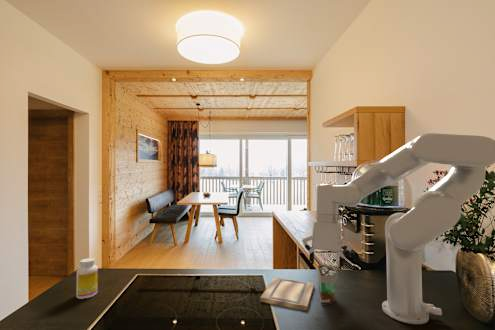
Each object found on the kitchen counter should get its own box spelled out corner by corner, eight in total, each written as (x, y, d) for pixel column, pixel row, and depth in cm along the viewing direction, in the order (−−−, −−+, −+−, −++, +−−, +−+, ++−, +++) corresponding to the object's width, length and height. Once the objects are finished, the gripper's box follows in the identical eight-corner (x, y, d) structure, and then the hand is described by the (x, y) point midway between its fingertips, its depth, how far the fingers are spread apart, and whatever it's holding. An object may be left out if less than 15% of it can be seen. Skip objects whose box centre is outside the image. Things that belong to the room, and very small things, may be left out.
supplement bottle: (100, 294, 93) (100, 259, 93) (79, 301, 88) (79, 264, 88) (94, 289, 97) (94, 255, 98) (74, 295, 92) (74, 260, 93)
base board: (314, 287, 98) (314, 282, 98) (307, 310, 81) (307, 305, 82) (274, 280, 104) (274, 276, 104) (260, 301, 87) (260, 296, 88)
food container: (340, 308, 83) (340, 277, 83) (321, 306, 84) (321, 276, 84) (335, 291, 95) (335, 264, 95) (318, 289, 96) (318, 263, 96)
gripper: (353, 218, 91) (352, 266, 90) (304, 214, 97) (303, 258, 97) (353, 222, 84) (352, 274, 83) (301, 217, 90) (300, 265, 90)
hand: (326, 265), depth 90 cm, fingers open, 9 cm apart
